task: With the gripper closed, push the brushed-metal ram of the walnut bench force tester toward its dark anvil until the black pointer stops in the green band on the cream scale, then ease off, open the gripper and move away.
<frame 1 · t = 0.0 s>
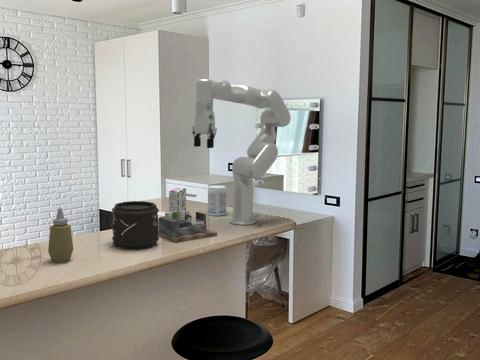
hand: (203, 147, 208), 37 cm above the table, tool pointing down, fingers open, 9 cm apart
force tester: (185, 235, 200), on the table
black round canister: (134, 244, 184), on the table
squeeze bottle: (61, 260, 161), on the table
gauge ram: (193, 221, 203), point 5 cm above the table, slide at 0.0 cm
candy bar box: (177, 224, 221), on the table
supplement tub: (216, 214, 245), on the table
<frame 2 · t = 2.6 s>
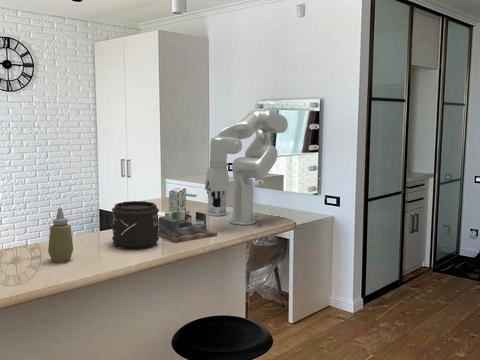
hand: (216, 206, 208), 11 cm above the table, tool pointing down, fingers closed
nothing on the table moved.
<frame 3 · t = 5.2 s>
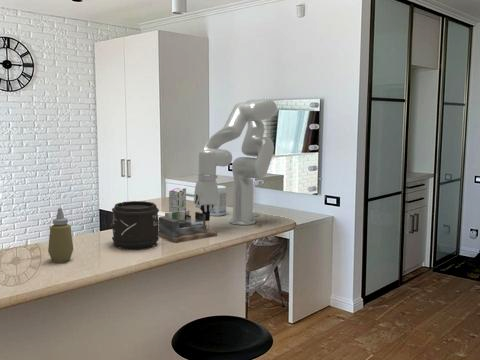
hand: (205, 220, 206), 5 cm above the table, tool pointing down, fingers closed
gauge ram: (192, 221, 203), point 5 cm above the table, slide at 0.3 cm, touching gripper
everything else where it was.
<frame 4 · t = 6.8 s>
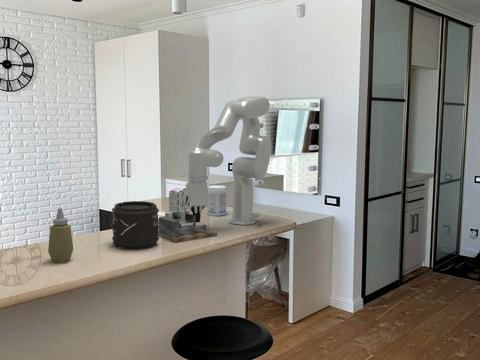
hand: (196, 221, 203), 5 cm above the table, tool pointing down, fingers closed
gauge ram: (182, 222, 200), point 5 cm above the table, slide at 5.4 cm, touching gripper
everything else where it was.
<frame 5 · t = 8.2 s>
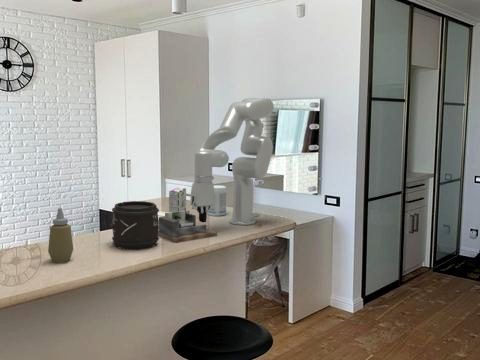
hand: (202, 221, 205), 5 cm above the table, tool pointing down, fingers closed
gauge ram: (182, 222, 200), point 5 cm above the table, slide at 5.4 cm
everything else where it was.
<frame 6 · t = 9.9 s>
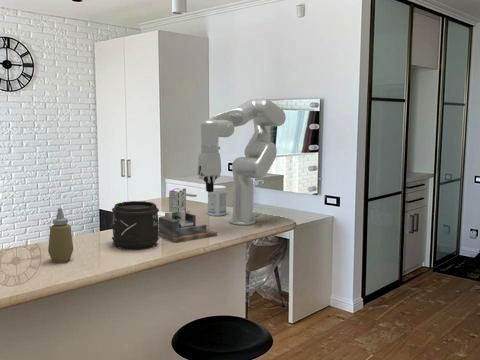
hand: (209, 191, 206), 18 cm above the table, tool pointing down, fingers closed
nothing on the table moved.
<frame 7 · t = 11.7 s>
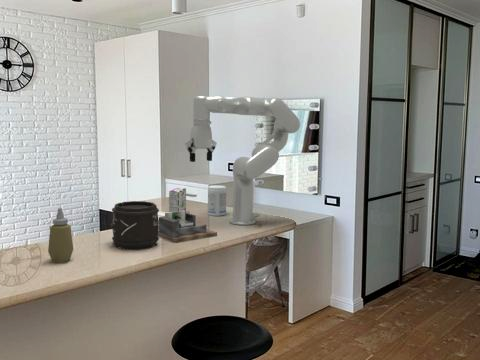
hand: (201, 161, 216), 30 cm above the table, tool pointing down, fingers open, 9 cm apart
nothing on the table moved.
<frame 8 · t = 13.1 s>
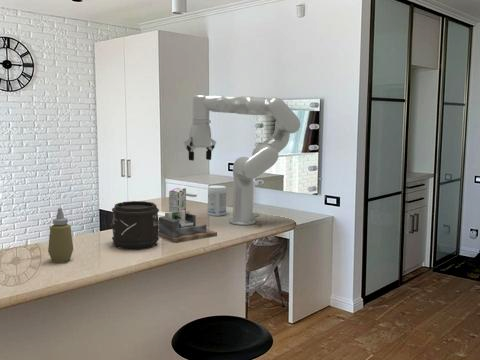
hand: (200, 159, 217), 30 cm above the table, tool pointing down, fingers open, 9 cm apart
nothing on the table moved.
at the end: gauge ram slide at 5.4 cm; candy bar box moved 0.2 cm from its start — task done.
